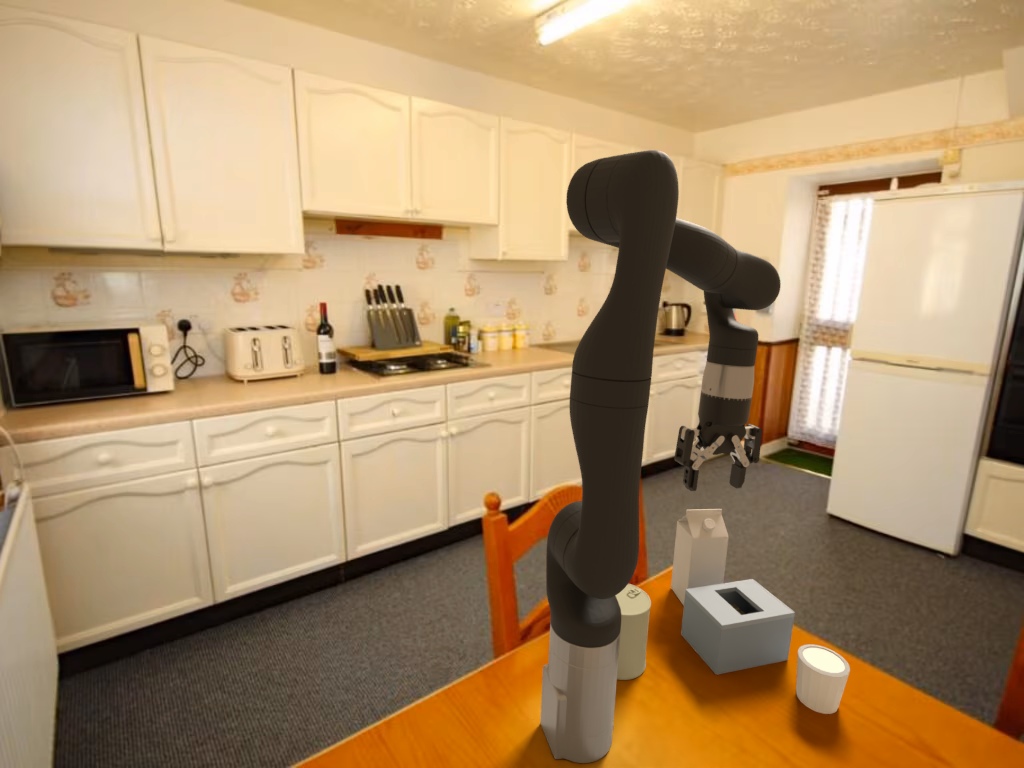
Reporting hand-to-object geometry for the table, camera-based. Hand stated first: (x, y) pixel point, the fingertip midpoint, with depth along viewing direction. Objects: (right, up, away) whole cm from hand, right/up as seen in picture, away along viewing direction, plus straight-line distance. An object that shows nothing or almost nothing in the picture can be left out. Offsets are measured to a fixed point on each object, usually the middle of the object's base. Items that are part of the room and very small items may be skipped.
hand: (713, 487), depth 86 cm
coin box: (+5, -29, +5) cm, 30 cm away
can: (-15, -29, +1) cm, 33 cm away
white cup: (+14, -31, -6) cm, 35 cm away
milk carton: (+3, -26, +19) cm, 32 cm away
